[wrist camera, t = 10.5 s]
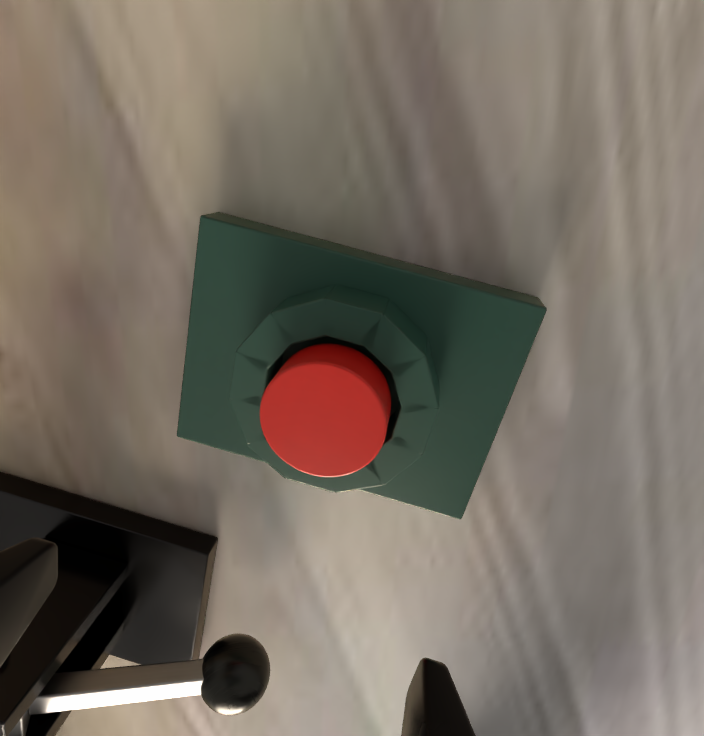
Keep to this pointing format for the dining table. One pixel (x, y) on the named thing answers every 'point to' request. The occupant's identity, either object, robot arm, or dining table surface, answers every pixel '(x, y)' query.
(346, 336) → the button block
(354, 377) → the button
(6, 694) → the switch bracket
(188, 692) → the switch lever
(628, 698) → the dining table surface
